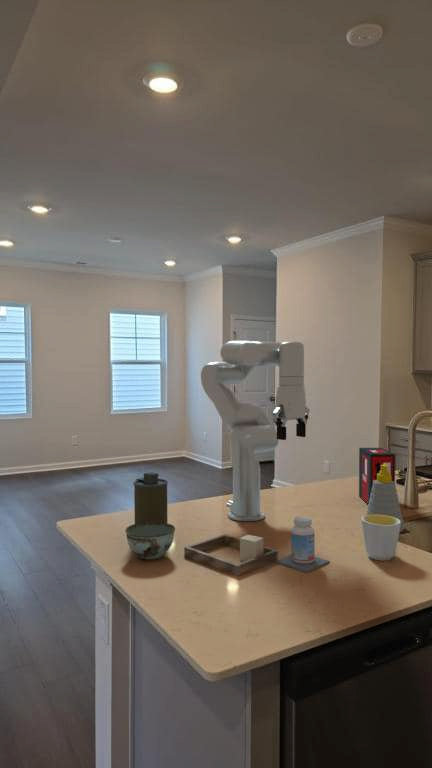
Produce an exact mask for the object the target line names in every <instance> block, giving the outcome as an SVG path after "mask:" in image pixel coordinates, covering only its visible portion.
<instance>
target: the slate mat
mask: <svg viewBox="0 0 432 768" xmlns="http://www.w3.org/2000/svg"><path fill="white" fill-rule="evenodd" d="M275 563H276V564H279V565H282V566H285V567H289V568H291V569H294V570H298V571H301V572H303V573H308V574H309V573H310V572H312V571H314V570H316V569H319V568H320V567H323V566H326V565H327V564H329V563H330V560H328V559H325V558H320V557H319V556H315V555H314V561H313V562H312V563H309V564H301V563H296V562H294V561H293V560H292V559H291V554H290V555H287V556H285V557H282V558H280V559H278V560H276V561H275Z"/></svg>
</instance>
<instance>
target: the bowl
mask: <svg viewBox="0 0 432 768" xmlns="http://www.w3.org/2000/svg"><path fill="white" fill-rule="evenodd" d="M124 530H125V533H126V540H127V545H128V546H129V548H130V550H131V551H132V552H133V553H134V554H135V555H137V556H138V558H139V559H140V560H141V561H144V562H153V561H154V562H155V561H158V560H160V559H161V558H162V557H163V555H164V554H165V553H167V552H168V550H170V548H171V547H172V544H173V542H174V537H175V531H176V526H174V524H171V523H169V522H167V523H163V522H144V523H137V524H135V523H134V524H131V525H129V526H127V527H126V528H125V529H124Z"/></svg>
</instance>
